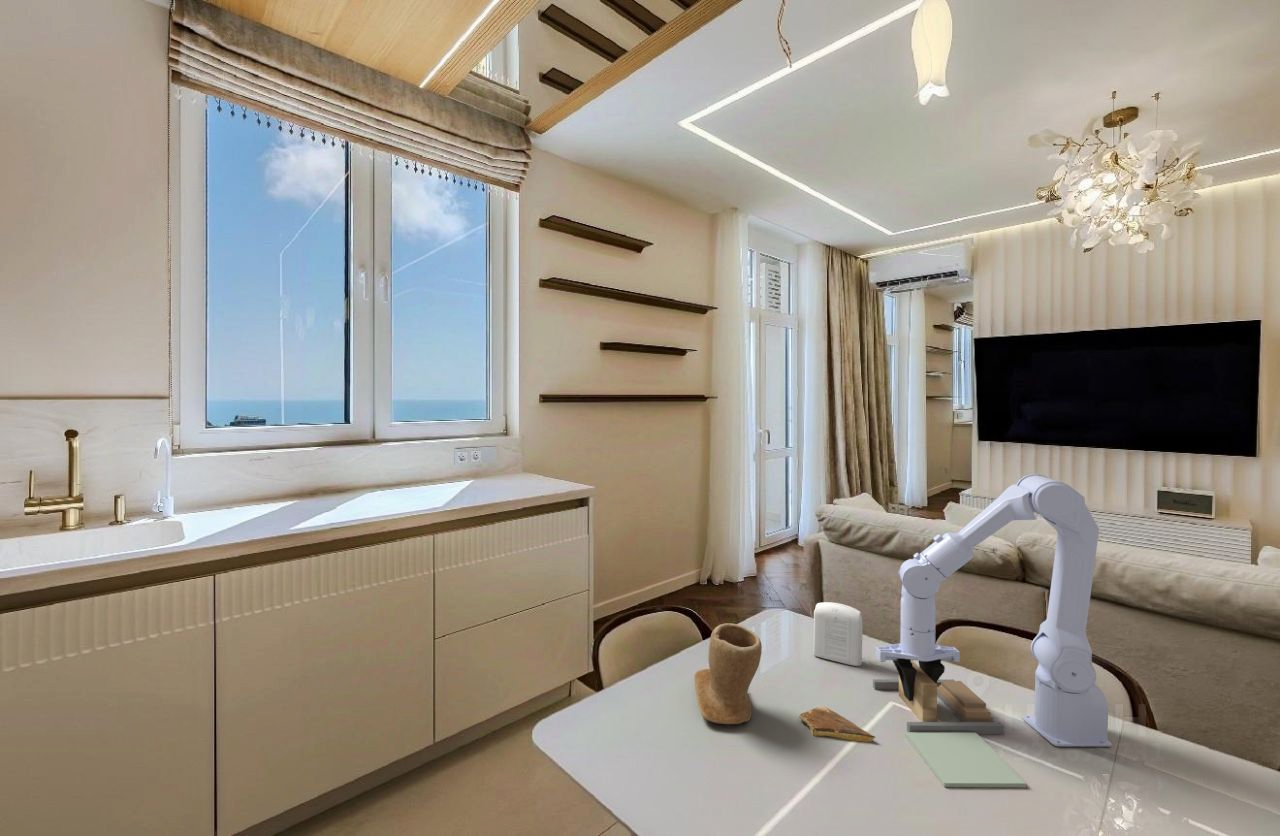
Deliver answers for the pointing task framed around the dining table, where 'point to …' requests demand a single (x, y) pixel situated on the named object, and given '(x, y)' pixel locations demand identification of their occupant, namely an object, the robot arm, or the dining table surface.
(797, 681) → the dining table surface
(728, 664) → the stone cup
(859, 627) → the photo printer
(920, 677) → the oak block
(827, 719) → the shard
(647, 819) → the dining table surface
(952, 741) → the sage mat
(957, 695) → the offcut rack
